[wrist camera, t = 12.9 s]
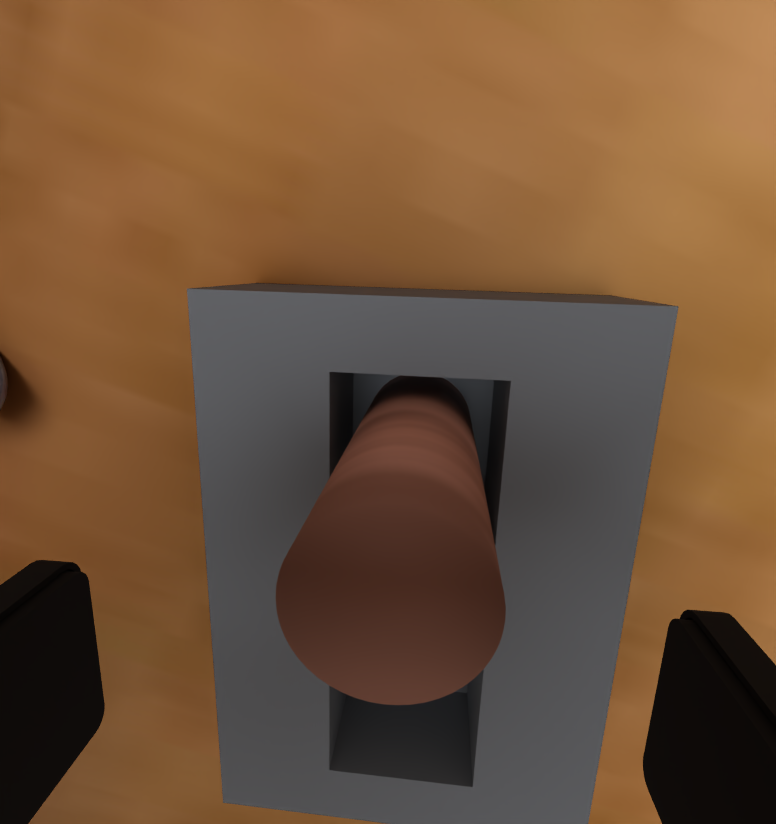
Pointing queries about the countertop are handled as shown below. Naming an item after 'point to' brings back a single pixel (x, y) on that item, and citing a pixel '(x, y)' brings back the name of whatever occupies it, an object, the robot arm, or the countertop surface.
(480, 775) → the bore block
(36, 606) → the robot arm
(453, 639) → the pin
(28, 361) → the countertop surface
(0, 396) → the tin
